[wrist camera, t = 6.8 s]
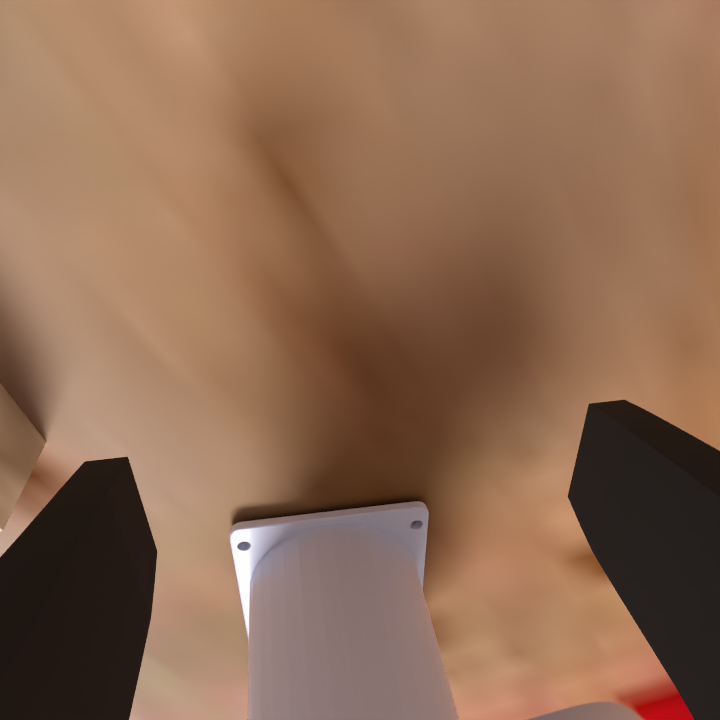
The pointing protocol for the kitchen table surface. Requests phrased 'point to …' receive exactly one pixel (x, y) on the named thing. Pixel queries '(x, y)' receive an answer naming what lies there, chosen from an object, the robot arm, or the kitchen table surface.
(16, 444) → the birch cube
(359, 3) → the kitchen table surface
